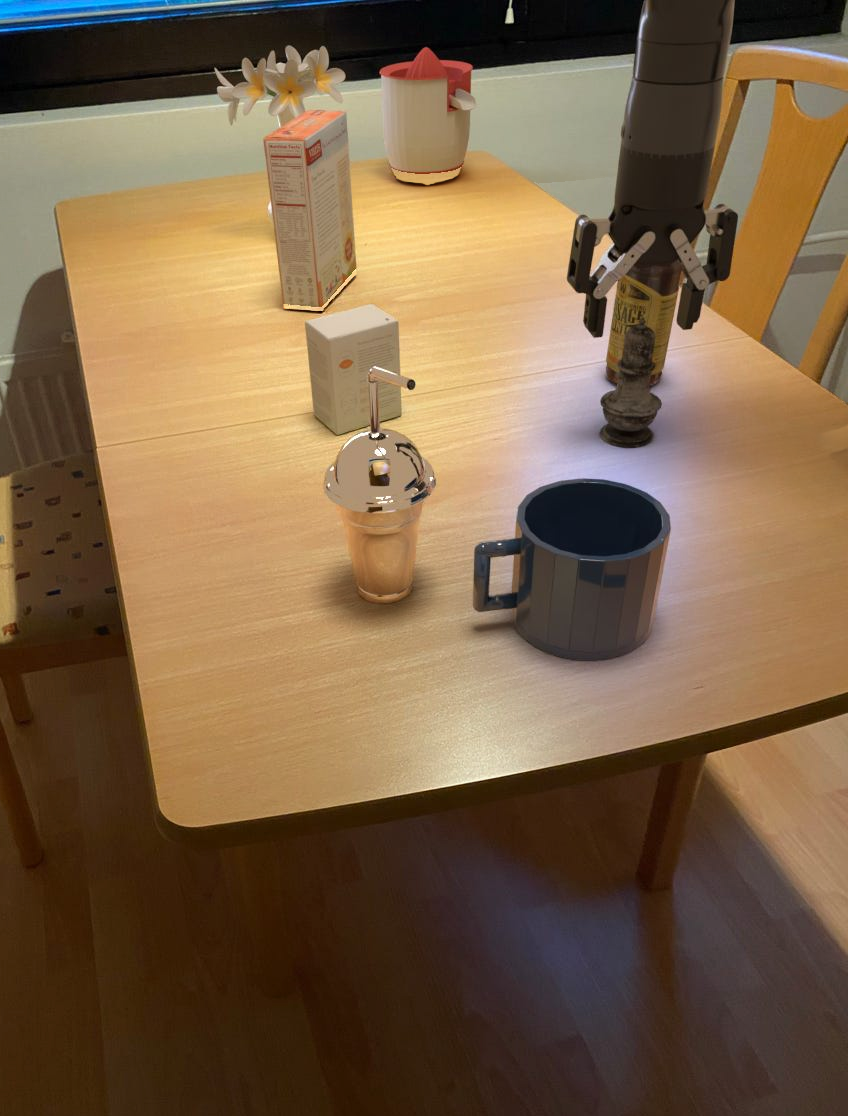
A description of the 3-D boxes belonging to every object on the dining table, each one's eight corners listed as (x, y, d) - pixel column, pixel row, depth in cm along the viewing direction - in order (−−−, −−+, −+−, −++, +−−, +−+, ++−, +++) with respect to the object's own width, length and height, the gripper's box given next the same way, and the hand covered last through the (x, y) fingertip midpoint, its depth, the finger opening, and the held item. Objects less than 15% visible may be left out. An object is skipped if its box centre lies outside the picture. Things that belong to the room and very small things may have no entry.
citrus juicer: (440, 196, 162) (440, 59, 149) (364, 180, 171) (359, 51, 159) (496, 175, 170) (501, 43, 158) (421, 161, 180) (420, 36, 167)
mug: (624, 567, 79) (639, 471, 73) (673, 651, 71) (694, 550, 65) (458, 586, 78) (459, 491, 72) (488, 674, 70) (492, 574, 64)
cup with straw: (431, 553, 82) (429, 325, 69) (442, 619, 75) (442, 379, 62) (331, 560, 82) (311, 332, 69) (333, 626, 75) (311, 387, 62)
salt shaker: (603, 450, 94) (618, 331, 86) (590, 422, 99) (603, 307, 91) (663, 447, 94) (683, 328, 86) (648, 419, 99) (666, 303, 91)
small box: (377, 397, 105) (373, 301, 99) (403, 416, 102) (400, 319, 95) (312, 415, 103) (303, 319, 96) (335, 436, 99) (327, 338, 92)
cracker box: (318, 273, 136) (305, 108, 123) (358, 276, 134) (349, 109, 121) (279, 310, 126) (260, 134, 113) (321, 314, 124) (308, 136, 111)
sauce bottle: (593, 373, 107) (614, 182, 95) (641, 362, 109) (668, 173, 96) (625, 396, 103) (652, 199, 90) (675, 385, 104) (709, 189, 91)
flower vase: (233, 229, 154) (209, 47, 138) (347, 217, 156) (336, 36, 140) (239, 255, 144) (214, 63, 128) (361, 242, 146) (351, 51, 130)
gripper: (598, 156, 76) (577, 354, 86) (771, 143, 77) (730, 339, 87) (570, 134, 81) (553, 322, 92) (732, 122, 82) (697, 309, 93)
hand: (639, 330), depth 89 cm, fingers open, 8 cm apart
